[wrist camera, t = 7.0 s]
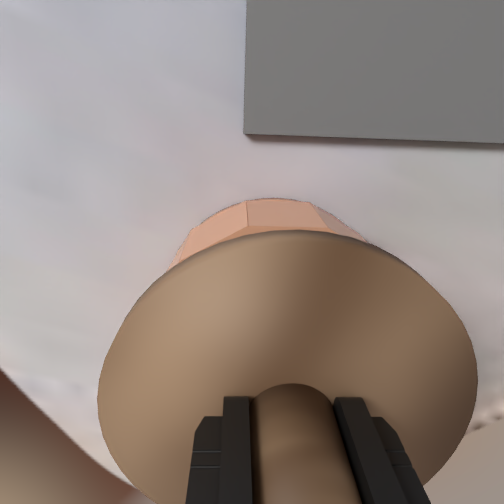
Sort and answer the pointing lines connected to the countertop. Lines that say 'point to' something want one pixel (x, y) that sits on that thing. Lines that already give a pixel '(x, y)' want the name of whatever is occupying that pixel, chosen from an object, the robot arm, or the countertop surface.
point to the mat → (376, 69)
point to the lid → (285, 364)
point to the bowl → (260, 223)
